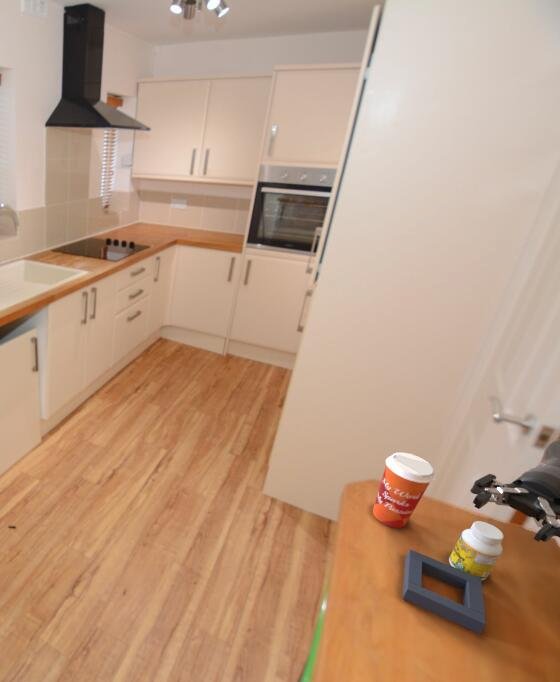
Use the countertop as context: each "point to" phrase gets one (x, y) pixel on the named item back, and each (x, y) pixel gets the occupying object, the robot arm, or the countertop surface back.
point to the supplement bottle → (477, 549)
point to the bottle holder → (463, 615)
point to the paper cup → (402, 488)
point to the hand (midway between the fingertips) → (506, 519)
